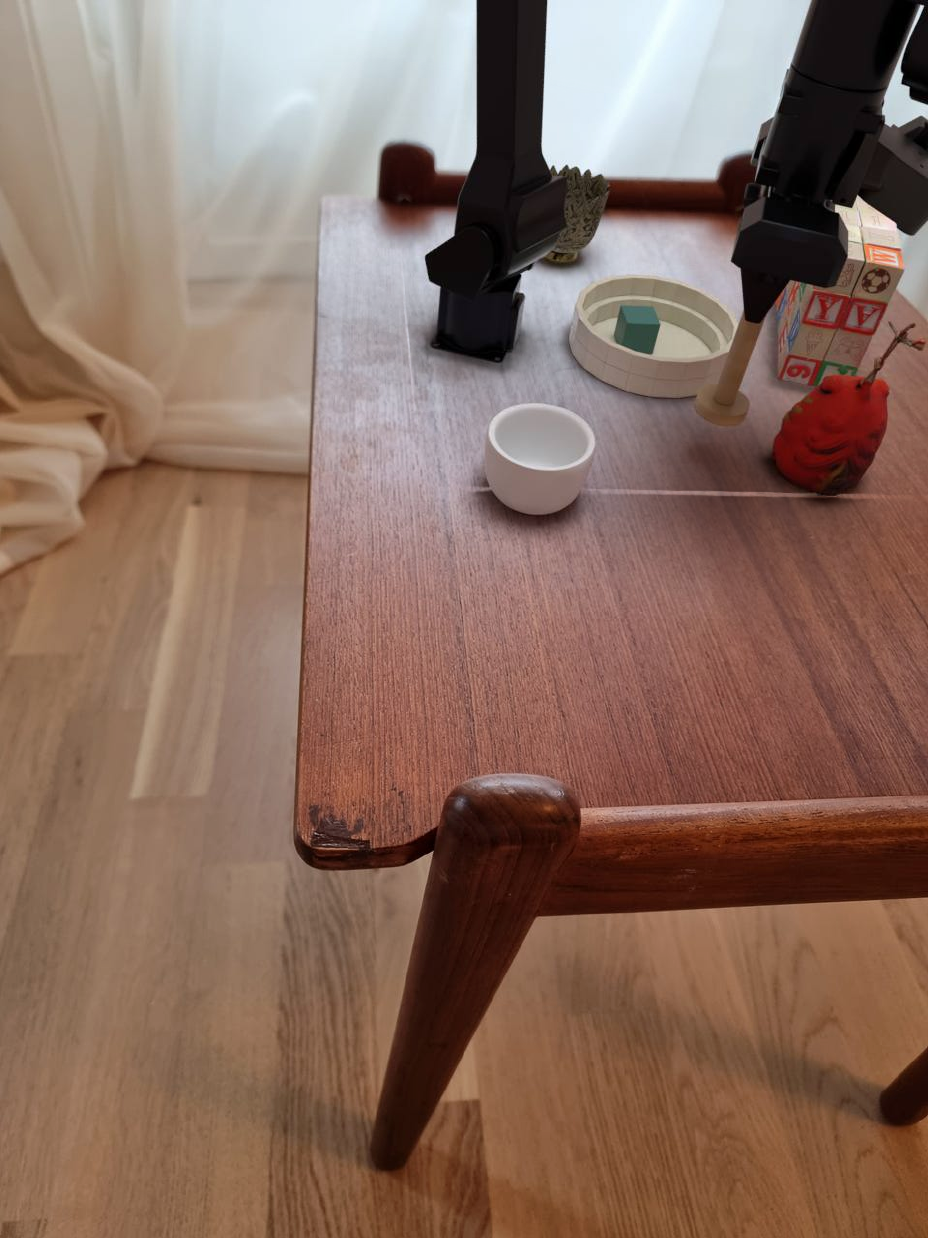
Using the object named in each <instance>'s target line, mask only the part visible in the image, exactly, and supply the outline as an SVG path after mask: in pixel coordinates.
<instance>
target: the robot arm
mask: <svg viewBox="0 0 928 1238" xmlns="http://www.w3.org/2000/svg"><path fill="white" fill-rule="evenodd" d="M475 2H476V3H475V8H476V9H475V13H476V14H475V21H476V22H475V23H476V25H475V30H476V33H475V36H476V37H475V38H476V39H475V42H476V45H475V46H476V47H475V51H476V52H475V53H476V55H475V57H476V59H475V62H476V63H475V67H476V71H475V72H476V73H475V75H476V80H475V81H476V89H475V90H476V91H475V92H476V94H475V95H476V98H475V99H476V109H475V110H476V112H475V113H476V115H475V116H476V117H475V118H476V119H475V121H476V128H475V129H476V132H475V133H476V135H475V136H476V147H475V156H474V159H473V161H472V164H471V166H470V169H469V171H468V173H467V175H466V178H465V180H464V183H463V185H462V187H461V190H460V192H459V194H458V198H457V205H456V214H455V215H456V216H455V221H454V231H453V236H451V237H450V238H448V239H447V240H445V241H444V242H442V243H441V244H440V245H438V246H437V247H435V248H434V249H432V250H431V251H429V252H427V253H426V254H425V255H424V261H425V262H424V263H425V267H426V273H427V277H428V281H429V283H431V284H434V285H436V286H438V287H439V296H438V310H437V320H436V332H435V334H434V336H433V337H432V339H431V341H430V343H429V347H430V348H432V349H434V350H435V349H436V350H439V351H443V352H447V353H452V354H456V355H461V356H465V357H468V358H473V359H478V360H483V361H486V362H491V363H495V364H501V363H503V362H504V360H505V358H506V356H507V354H508V352H511V351H513V350H514V348H515V346H516V345H517V342H518V340H519V337H520V332H521V327H522V321H523V320H522V319H523V313H524V308H525V301H526V296H525V294H524V292H520V289H521V283H522V277H523V276H522V274H523V273H525V272H530V271H532V269H534V267H535V266H536V264H537V262H538V260H540V259H543V258H542V257H544V256H545V255H547V254H548V253H549V252H550V251H551V250H552V249H553V248H554V247H555V246H556V244H557V242H558V240H559V235H560V231H562V230H564V229H566V228H567V222H566V218H565V199H566V194H567V189H568V181H567V178H566V177H565V176H552V174H551V171H550V169H551V168H550V167H549V165H548V163H547V161H546V158H545V156H544V154H543V121H544V120H543V118H544V99H545V98H544V97H545V95H544V93H545V75H546V74H545V72H546V50H547V49H546V48H547V45H546V44H547V22H548V21H547V20H548V0H476V1H475ZM921 6H923V8H922V9H921V12H920V14H919V17H918V19H917V22H916V23H915V25H914V22H915V21H916V17H917V15H918V12H919V10H920V8H921ZM913 25H914V28H913V29H912V27H913ZM911 30H912V31H911ZM910 33H911V34H910ZM905 45H906V46H905ZM904 48H905V49H904ZM903 50H904V52H903ZM902 53H903V54H902ZM901 55H902V58H901ZM900 58H901V62H900V73H901V74H902V76H901V82H900V84H901V86H905V87H908V97H909V99H910V100H912V101H915V102H918V103H920V104H923V105H927V106H928V0H810V3H809V6H808V8H807V13H806V15H805V18H804V22H803V25H802V29H801V31H800V33H799V37H798V40H797V43H796V47H795V49H794V52H793V56H792V58H791V61H790V65H789V68H787V69H786V71H785V74H784V77H783V81H782V84H781V88H780V93H779V99H778V102H777V105H776V109H775V111H774V115H773V117H771V118H769V119H768V120H766V121H764V122H763V123H761V124H760V128H759V130H758V131H759V132H758V134H757V137H756V141H755V144H754V147H753V150H752V154H751V159H750V166H752V167H756V173H755V178H754V182H749V183H747V184H746V186H745V191H744V195H743V199H742V200H743V201H742V203H743V204H742V205H743V212H742V216H741V217H739V221H738V225H737V230H736V236H735V239H734V243H733V247H732V252H731V256H730V263H732V264H733V266H736V267H737V268H739V269H740V270H739V271H740V279H741V280H740V281H741V292H742V306H743V310H744V318H745V320H746V321H747V322H751V323H756V324H759V323H761V322H762V320H763V319H764V317H765V316H766V317H767V315H768V313H769V312H770V310H771V309H772V307H773V306H774V305H775V303H776V300H777V299H778V297H779V296H780V294H781V293H782V292H783V290H784V289H785V287H786V286H787V284H788V283H789V282H790V280H792V281H797V282H801V283H805V284H809V285H814V286H818V287H822V288H829V287H834V286H836V284H837V281H838V279H839V277H840V274H841V272H842V269H843V267H844V265H845V262H846V260H847V257H848V230H847V228H846V226H845V224H844V222H843V220H842V218H841V216H840V214H839V213H837V212H835V205H839V206H844V207H848V208H853V205H854V203H855V200H856V198H857V195H858V196H859V197H860V198H861V199H862V200H863V201H864V202H866V203H867V204H868V205H870V206H871V207H873V208H874V209H876V210H877V211H879V212H880V213H882V214H883V215H885V216H886V217H887V218H889V219H890V220H892V221H893V222H895V224H896V228H897V230H899V232H901V233H903V234H905V235H906V236H909V237H913V236H915V235H916V234H917V233H918V232H919V231H920V230H921V229H922V228H923V227H924V226H925V224H927V222H928V118H926V117H925V116H923V115H919V116H917V117H916V118H913V119H911V120H909V121H908V122H906V123H904V124H902V125H900V126H897V125H896V124H894V123H893V124H892V125H891V126H890V125H888V124H886V115H885V114H883V108H884V105H885V97H886V94H887V91H888V89H889V86H890V84H891V81H892V78H893V75H894V74H895V71H896V68H897V67H898V66H897V65H898V63H899V60H900Z"/></svg>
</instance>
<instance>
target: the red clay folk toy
mask: <svg viewBox="0 0 928 1238" xmlns="http://www.w3.org/2000/svg"><path fill="white" fill-rule="evenodd" d="M887 322H888V325H889V327H890V329H891V330H892V332H893V333H894V334H895V335H894V338H893V339H892V341H891V343H890V344H889V346H888V347H887V349H886V350H885V352H884V353H883V355H882V356H879V355H878V356H876V357H875V358H874V359H873V360H874V362H873V369H871V371H870V372H869V373H868V374H867V375H866V376H860V375H858V376H857V375H856V376H848V375H840V374H830V375H827V376H825V377H824V379H823V381H822V383H821V384H819V385H818V386H817V387H816V386H815V388H813V389H812V390H811V391H809V392H808V393H807V394H806V395H805V396H804V397H803V398H802V399H801V400H800V401H798V402H796V403H794V405H793V406H792V407H791V409H789V410H787V412H785V414H784V416H783V417H782V421H781V425H780V430H778V433H777V434H776V435H775V436H774V439H773V442H772V449H771V450H772V451H771V459H772V461H773V462H775V465H776V466H775V467H776V469H777V471H778V472H779V474H781V475H782V476H783V477H784V478H785V479H786V480H788V481H789V482H791V483H792V484H793V485H795V486H798V487H799V488H800V489H804V490H806V491H811V492H813V493H815V494H816V495H819V496H824V497H836V496H838V495H840V494H842V492H844V491H845V489H847V488H850V487H851V486H853V485H854V484H856V483H857V482H859V481H860V480H861V479H862V478H863V476H864V475H865V474H866V472H867V471H868V469H869V468H870V467H871V465H872V464H873V462H874V460H875V457H876V454H877V452H878V450H879V449H880V447H881V445H882V443H883V439H884V438H885V434H886V432H887V428H888V419H889V412H888V400H887V399H888V397H889V396H890V386H888V384H887V382H886V381H885V380H883V378H876V376H877V375H878V372H879V371H881V370H882V368H883V367H884V365H885V361H886V360H887V359H888V358H889V356H890V355H891V354H892V352H893V351H894V350H895V349H896V347H897V346H898V345H899V344H903V345H906V346H908V347H909V348H913V349H915V350H917V351H919V352H922V351H923V350H924V349H925V347H926V344H927V342H926V341H927V338H926V337H924V338H922V339H918V340H916V339H913V338H909V337H908V335H909V333H908V331H909V330H911V329H914V328H916V327H917V325H916V323H915V322H912V323H910V324H908V325H907V326H906V327H904V328H903V329H901V330H897V329H896V328H895V326H894V324H893V322H892V321H891V320H889V321H887Z"/></svg>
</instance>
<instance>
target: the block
mask: <svg viewBox="0 0 928 1238" xmlns="http://www.w3.org/2000/svg"><path fill="white" fill-rule="evenodd" d="M660 325H661V324H660V322H659V319H658V317H657V314H656V312H655V310H654V307H652V306H629V305H621V306H620V310H619V314H618V319H617V323H616V327H615V332H614V337H615V340H616V343H617V344H619V345H621V346H624V347H626V348H629V349H631V350H633V351H636V352H640V353H645V354H653V351H654V347H655V343H656V340H657V336H658V332H659V329H660Z"/></svg>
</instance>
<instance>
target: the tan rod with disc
mask: <svg viewBox="0 0 928 1238" xmlns="http://www.w3.org/2000/svg"><path fill="white" fill-rule="evenodd" d="M766 318H767V315H766V316H765V317H764V319H763V320H762V322H761V323H759V324H756V323H751V322H747V321H746V320H745V318H744V309H743V310H742V313H741V316H740V319H739V321H738V323H739V324H738V327H737V330H736V333H735V336H734V339H733V342H732V344H731V347H730V350H729V353H728V356H727V359H726V362H725V365H724V367H723V370H722V373H721V376H720V379H719V382H718V384H710V385H706V386H704V387H702V388H701V389H700V390H699V391H698V393H697V395H695V399H694V402H693V408H694V410H695V412H696V414H697V415H698V416H699V417H700V418H701V419H703V420H704V421H706V422H709V423H710V424H713V425H717V426H720V427H735V426H738V425H740V424H742V423H744V422H745V420H746V419H747V416H748V413H749V411H750V409H751V403H750V400H749V398H748V397H747V396H746V394H745V393H743V392H742V391H740V388H741V385H742V382H743V380H744V378H745V374H746V372H747V369H748V366H749V363H750V361H751V359H752V357H753V353H754V351H755V348H756V345H757V342H758V339H759V337H760V334H761V331H762V328H763V325H764V323H765V321H766Z"/></svg>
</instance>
